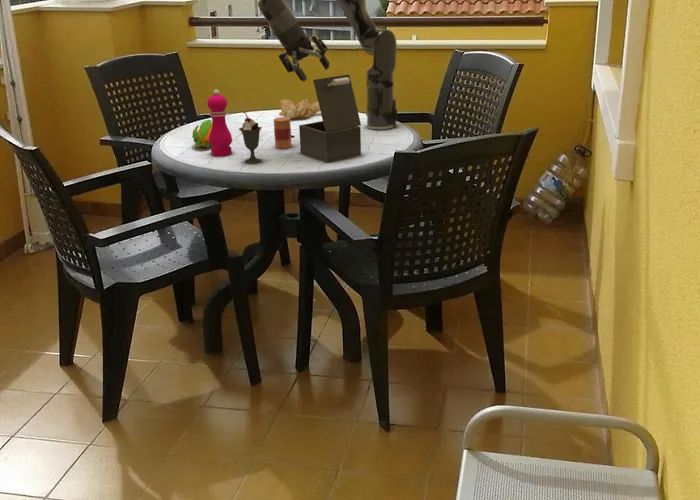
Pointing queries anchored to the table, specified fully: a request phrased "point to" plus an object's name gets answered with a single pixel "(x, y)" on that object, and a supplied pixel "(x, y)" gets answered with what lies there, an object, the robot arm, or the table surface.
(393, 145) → the table surface
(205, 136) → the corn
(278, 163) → the table surface
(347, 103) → the dark brown box lid
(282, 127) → the tin can
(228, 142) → the pepper mill
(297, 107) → the ginger root
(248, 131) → the sundae
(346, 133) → the open brown box
